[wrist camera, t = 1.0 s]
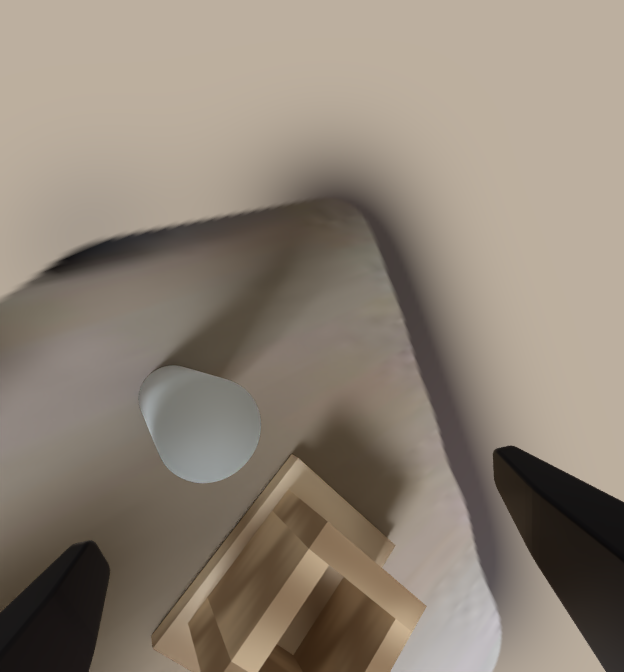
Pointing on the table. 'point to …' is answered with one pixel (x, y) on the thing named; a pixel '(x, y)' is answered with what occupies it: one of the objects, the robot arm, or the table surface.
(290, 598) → the bottle holder
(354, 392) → the table surface
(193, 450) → the peg
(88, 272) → the table surface
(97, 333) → the table surface
